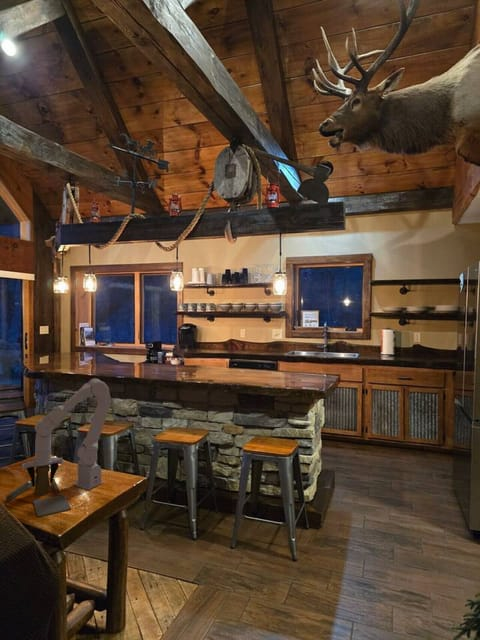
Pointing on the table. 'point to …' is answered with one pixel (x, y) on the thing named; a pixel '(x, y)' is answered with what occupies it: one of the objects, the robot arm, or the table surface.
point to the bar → (19, 490)
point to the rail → (55, 488)
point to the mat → (51, 505)
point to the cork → (42, 481)
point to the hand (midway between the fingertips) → (42, 484)
